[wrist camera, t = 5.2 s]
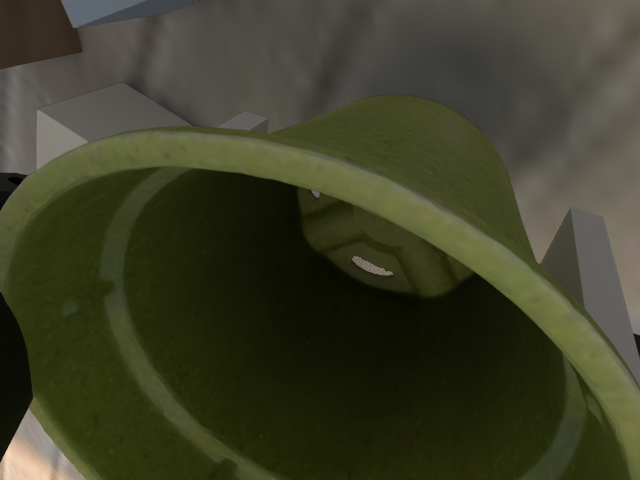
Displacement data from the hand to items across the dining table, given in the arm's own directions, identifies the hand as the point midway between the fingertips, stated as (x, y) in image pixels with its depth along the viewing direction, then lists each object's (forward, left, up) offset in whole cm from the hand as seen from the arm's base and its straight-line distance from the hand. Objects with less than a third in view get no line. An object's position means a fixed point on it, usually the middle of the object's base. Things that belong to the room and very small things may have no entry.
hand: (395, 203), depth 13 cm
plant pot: (0, 0, 0) cm, 0 cm away
